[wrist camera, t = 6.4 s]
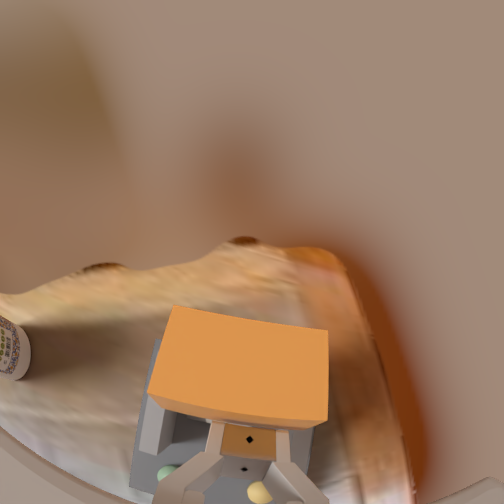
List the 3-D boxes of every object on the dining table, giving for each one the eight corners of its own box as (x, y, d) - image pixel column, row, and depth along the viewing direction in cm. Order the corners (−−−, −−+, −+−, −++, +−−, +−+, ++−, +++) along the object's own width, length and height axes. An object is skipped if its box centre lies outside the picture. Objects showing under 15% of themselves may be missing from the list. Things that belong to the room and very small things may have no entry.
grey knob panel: (288, 499, 17) (315, 537, 10) (142, 475, 17) (106, 504, 10) (308, 371, 24) (345, 357, 17) (165, 346, 24) (138, 322, 17)
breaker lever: (264, 443, 17) (327, 420, 8) (185, 430, 17) (146, 392, 8) (269, 402, 19) (328, 330, 10) (194, 389, 19) (173, 304, 10)
